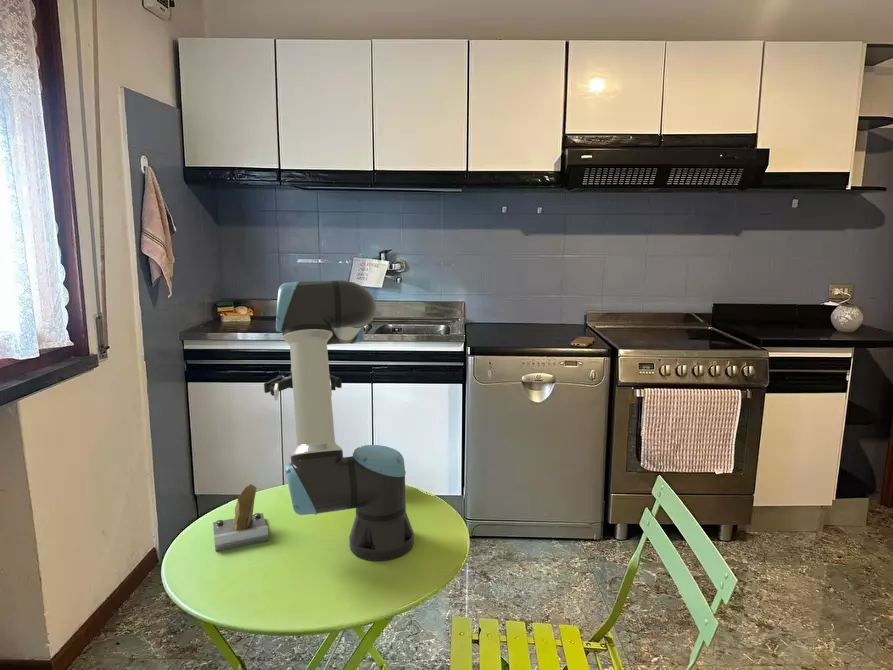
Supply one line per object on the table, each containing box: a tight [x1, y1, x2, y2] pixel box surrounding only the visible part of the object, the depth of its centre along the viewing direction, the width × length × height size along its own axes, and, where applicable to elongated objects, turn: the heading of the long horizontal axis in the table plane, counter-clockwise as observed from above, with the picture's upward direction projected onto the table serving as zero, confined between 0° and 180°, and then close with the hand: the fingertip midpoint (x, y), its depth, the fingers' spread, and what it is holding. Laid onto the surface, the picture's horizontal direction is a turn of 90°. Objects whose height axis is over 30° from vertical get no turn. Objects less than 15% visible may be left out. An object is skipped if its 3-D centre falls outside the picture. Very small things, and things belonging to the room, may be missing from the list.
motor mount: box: [212, 512, 270, 552], centre depth 147 cm, size 12×12×4 cm
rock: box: [233, 484, 257, 531], centre depth 147 cm, size 11×9×10 cm
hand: (303, 393), depth 154 cm, fingers open, 13 cm apart
